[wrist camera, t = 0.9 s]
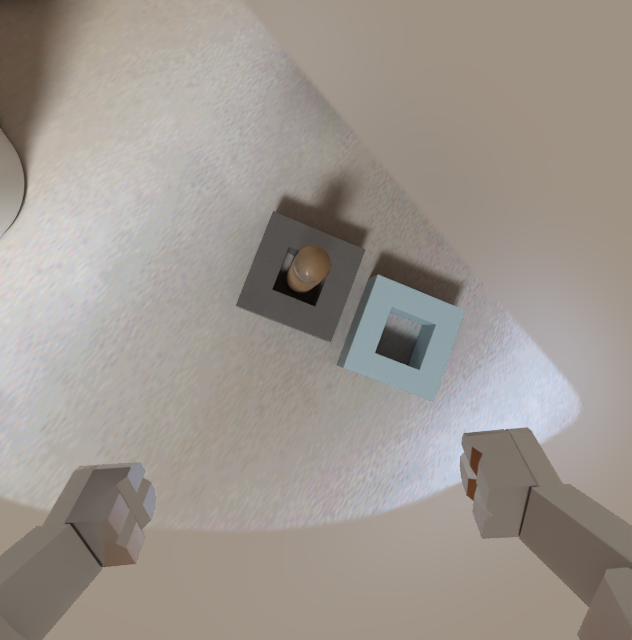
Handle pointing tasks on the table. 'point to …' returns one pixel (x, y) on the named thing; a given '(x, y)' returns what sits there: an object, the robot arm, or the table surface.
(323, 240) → the socket block
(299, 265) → the peg
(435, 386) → the block
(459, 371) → the table surface
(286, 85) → the table surface
